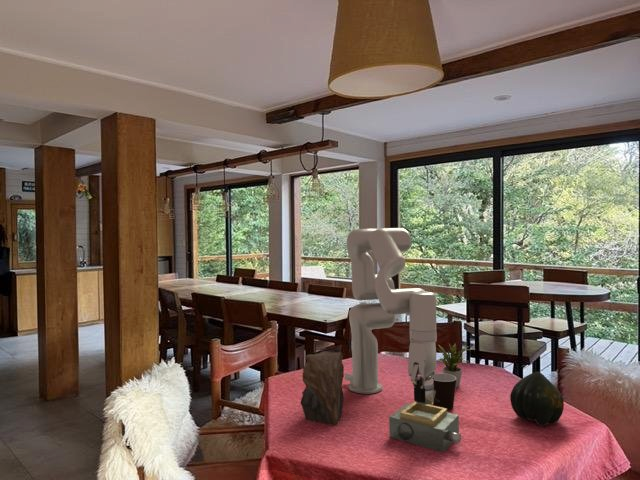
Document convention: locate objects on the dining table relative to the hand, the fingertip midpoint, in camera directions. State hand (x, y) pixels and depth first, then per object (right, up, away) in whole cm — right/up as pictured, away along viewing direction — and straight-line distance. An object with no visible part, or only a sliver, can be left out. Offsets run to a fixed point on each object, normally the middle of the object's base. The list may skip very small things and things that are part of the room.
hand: (424, 397), depth 131 cm
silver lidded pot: (0, -1, 0) cm, 1 cm away
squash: (+37, -11, +11) cm, 40 cm away
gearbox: (+1, -11, -1) cm, 11 cm away
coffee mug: (+12, -11, +23) cm, 28 cm away
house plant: (+21, -10, +41) cm, 47 cm away
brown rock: (-28, -12, +15) cm, 34 cm away
